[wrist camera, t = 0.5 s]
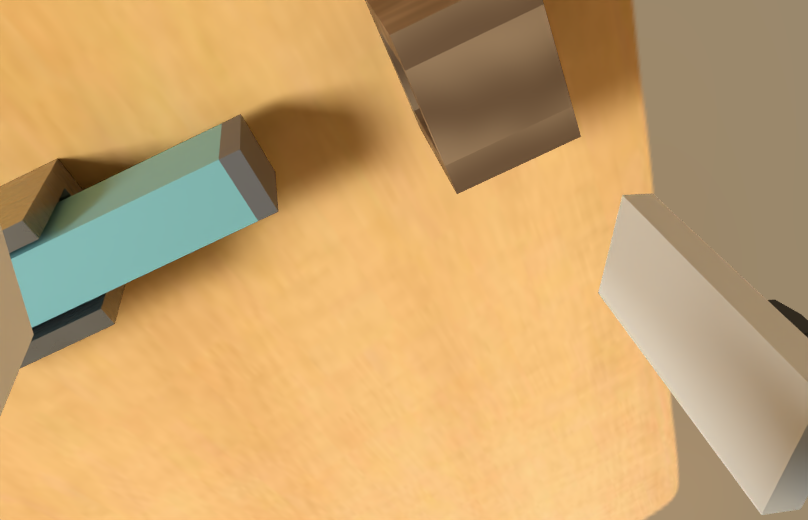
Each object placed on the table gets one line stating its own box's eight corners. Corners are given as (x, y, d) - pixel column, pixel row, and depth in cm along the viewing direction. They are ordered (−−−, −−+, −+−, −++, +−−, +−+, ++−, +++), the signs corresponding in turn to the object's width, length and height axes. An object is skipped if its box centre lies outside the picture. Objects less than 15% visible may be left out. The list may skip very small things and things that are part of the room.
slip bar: (-156, 305, 40) (-203, 361, 36) (240, 114, 39) (239, 149, 34) (-102, 351, 42) (-140, 408, 38) (275, 171, 41) (278, 211, 37)
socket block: (362, -7, 38) (389, 34, 31) (476, -63, 38) (533, -35, 30) (421, 130, 43) (457, 194, 36) (523, 81, 43) (580, 136, 35)
